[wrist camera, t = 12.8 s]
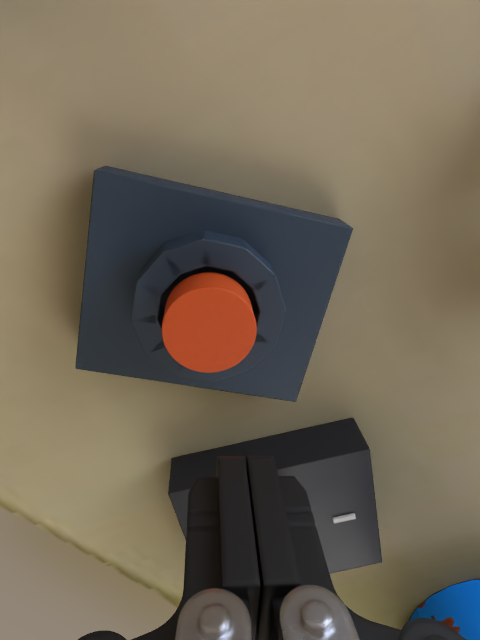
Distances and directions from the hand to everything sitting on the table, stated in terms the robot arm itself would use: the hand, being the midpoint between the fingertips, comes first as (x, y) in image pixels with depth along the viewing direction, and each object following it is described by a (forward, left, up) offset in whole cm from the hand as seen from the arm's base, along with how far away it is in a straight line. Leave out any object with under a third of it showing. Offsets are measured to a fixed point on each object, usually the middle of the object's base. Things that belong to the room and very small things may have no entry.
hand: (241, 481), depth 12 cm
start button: (+1, -1, -10) cm, 10 cm away
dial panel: (-4, +14, -13) cm, 20 cm away
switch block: (+1, -1, -13) cm, 13 cm away
